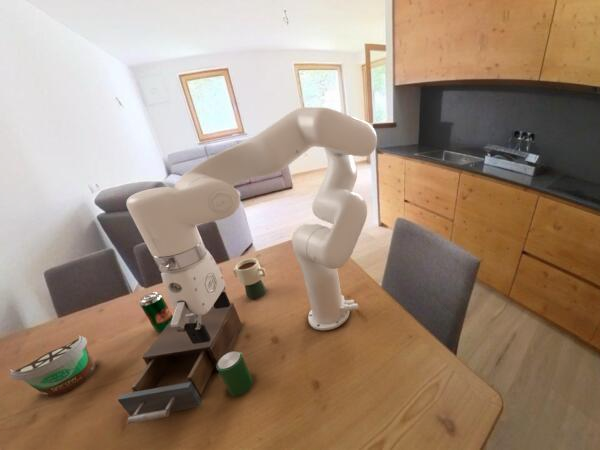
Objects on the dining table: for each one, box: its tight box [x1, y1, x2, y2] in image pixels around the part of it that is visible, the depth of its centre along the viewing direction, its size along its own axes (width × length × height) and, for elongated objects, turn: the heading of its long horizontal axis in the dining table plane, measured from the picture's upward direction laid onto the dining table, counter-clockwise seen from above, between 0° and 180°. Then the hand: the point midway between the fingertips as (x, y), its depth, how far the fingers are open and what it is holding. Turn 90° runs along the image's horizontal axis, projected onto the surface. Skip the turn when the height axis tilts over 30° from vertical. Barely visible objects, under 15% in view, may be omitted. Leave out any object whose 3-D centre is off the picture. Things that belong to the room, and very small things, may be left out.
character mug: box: [232, 257, 267, 300], centre depth 95 cm, size 11×7×13 cm, turn 88°
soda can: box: [139, 291, 174, 333], centre depth 83 cm, size 5×5×12 cm
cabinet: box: [142, 302, 243, 373], centre depth 75 cm, size 16×15×9 cm
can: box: [216, 350, 253, 397], centre depth 65 cm, size 5×5×9 cm
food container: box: [9, 334, 96, 397], centre depth 68 cm, size 12×6×10 cm, turn 148°
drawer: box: [117, 350, 215, 425], centre depth 65 cm, size 18×14×7 cm
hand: (213, 323), depth 59 cm, fingers open, 9 cm apart
